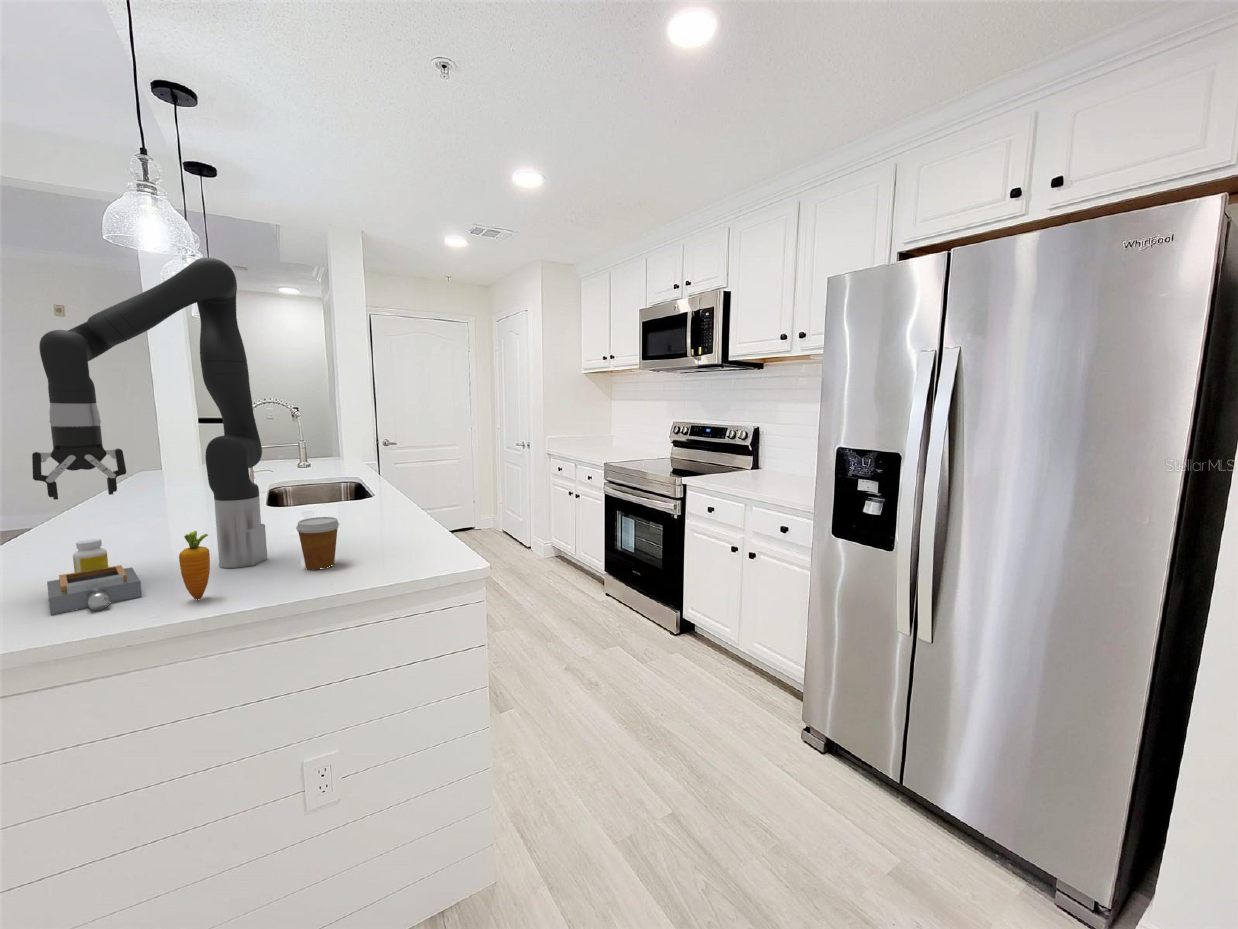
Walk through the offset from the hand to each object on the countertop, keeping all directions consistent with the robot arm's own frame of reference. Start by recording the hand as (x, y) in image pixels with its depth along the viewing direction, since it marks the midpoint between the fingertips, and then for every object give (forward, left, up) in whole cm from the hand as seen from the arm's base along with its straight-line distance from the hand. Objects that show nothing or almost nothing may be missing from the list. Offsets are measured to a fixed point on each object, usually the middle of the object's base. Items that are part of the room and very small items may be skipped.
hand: (84, 496), depth 114 cm
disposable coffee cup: (-44, -11, -20) cm, 50 cm away
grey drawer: (-10, +11, -20) cm, 25 cm away
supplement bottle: (0, 0, -20) cm, 20 cm away
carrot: (-30, +11, -20) cm, 38 cm away
